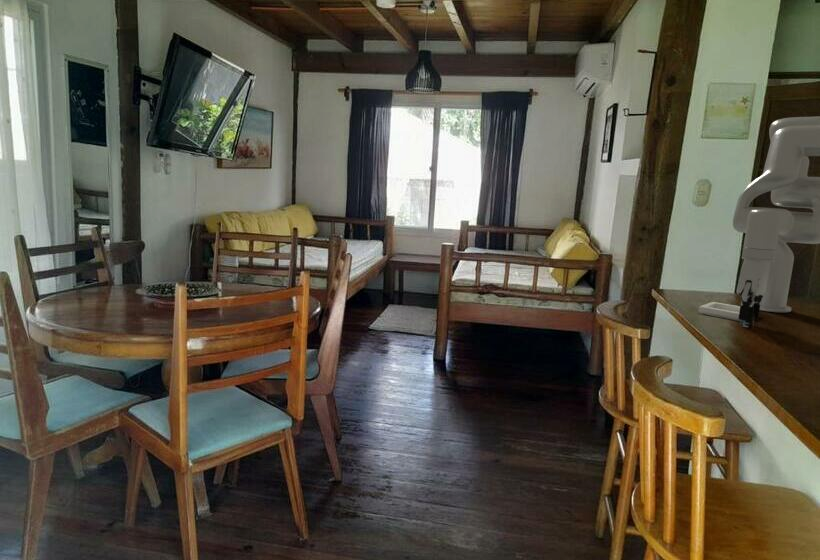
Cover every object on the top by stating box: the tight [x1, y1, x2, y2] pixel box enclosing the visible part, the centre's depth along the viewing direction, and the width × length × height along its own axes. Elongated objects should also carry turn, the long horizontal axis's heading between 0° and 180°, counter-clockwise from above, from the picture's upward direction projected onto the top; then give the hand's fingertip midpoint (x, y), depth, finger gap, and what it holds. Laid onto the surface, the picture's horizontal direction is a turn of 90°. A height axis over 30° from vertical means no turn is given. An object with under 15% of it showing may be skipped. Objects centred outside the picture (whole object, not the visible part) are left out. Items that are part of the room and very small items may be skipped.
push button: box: [740, 292, 763, 329], centre depth 147 cm, size 7×5×10 cm
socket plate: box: [697, 301, 743, 323], centre depth 161 cm, size 12×13×2 cm
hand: (748, 318), depth 147 cm, fingers closed on push button, 5 cm apart
